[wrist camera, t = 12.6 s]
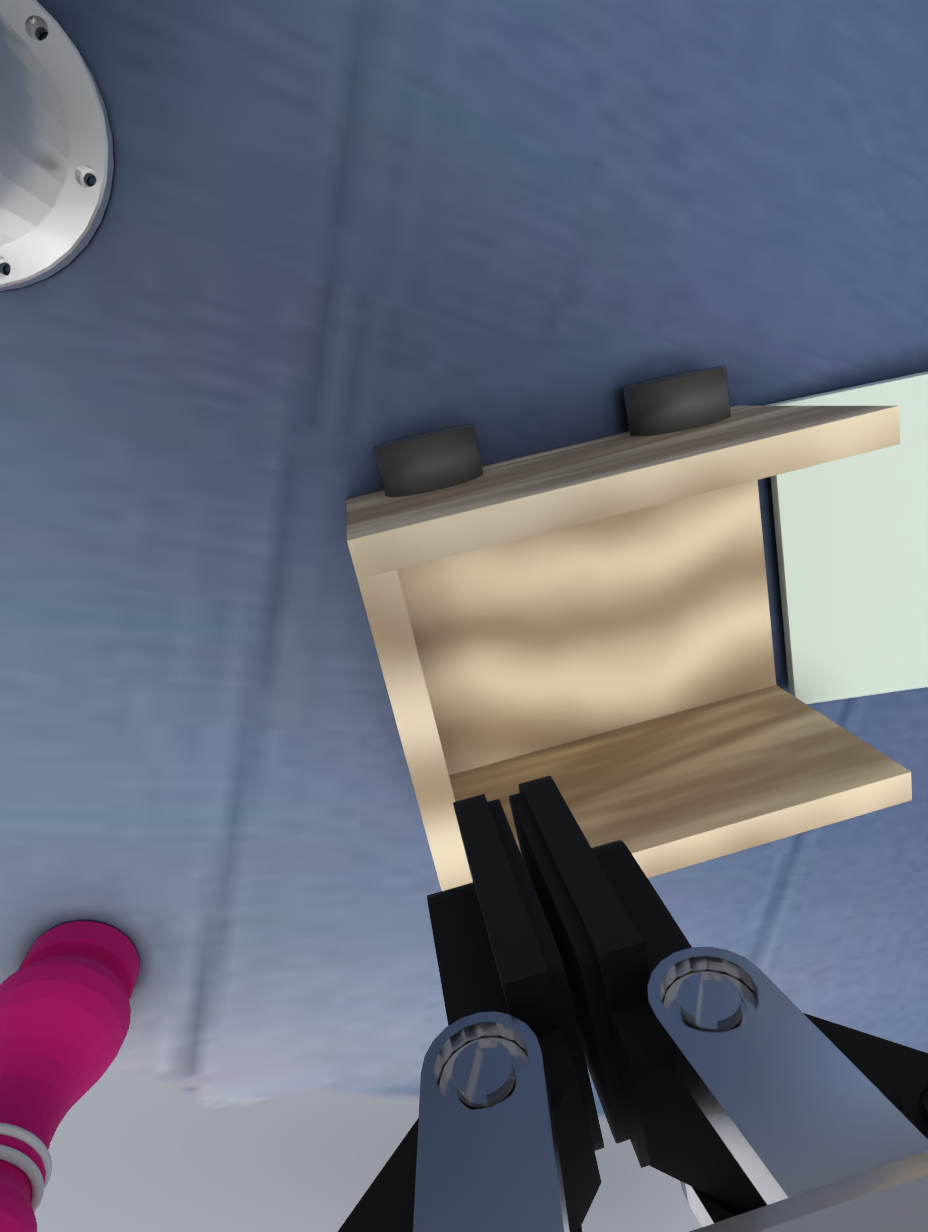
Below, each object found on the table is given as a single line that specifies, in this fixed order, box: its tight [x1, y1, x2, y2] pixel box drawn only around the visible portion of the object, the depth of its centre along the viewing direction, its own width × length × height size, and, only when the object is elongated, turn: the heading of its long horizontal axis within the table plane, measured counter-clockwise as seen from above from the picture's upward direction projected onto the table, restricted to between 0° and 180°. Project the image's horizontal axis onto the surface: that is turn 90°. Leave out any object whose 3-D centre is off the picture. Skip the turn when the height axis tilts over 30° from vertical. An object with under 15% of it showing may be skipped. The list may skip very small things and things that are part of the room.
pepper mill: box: [0, 921, 140, 1232], centre depth 34 cm, size 7×7×20 cm
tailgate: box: [764, 371, 928, 704], centre depth 41 cm, size 18×2×11 cm
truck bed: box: [346, 366, 912, 891], centre depth 36 cm, size 23×22×12 cm
